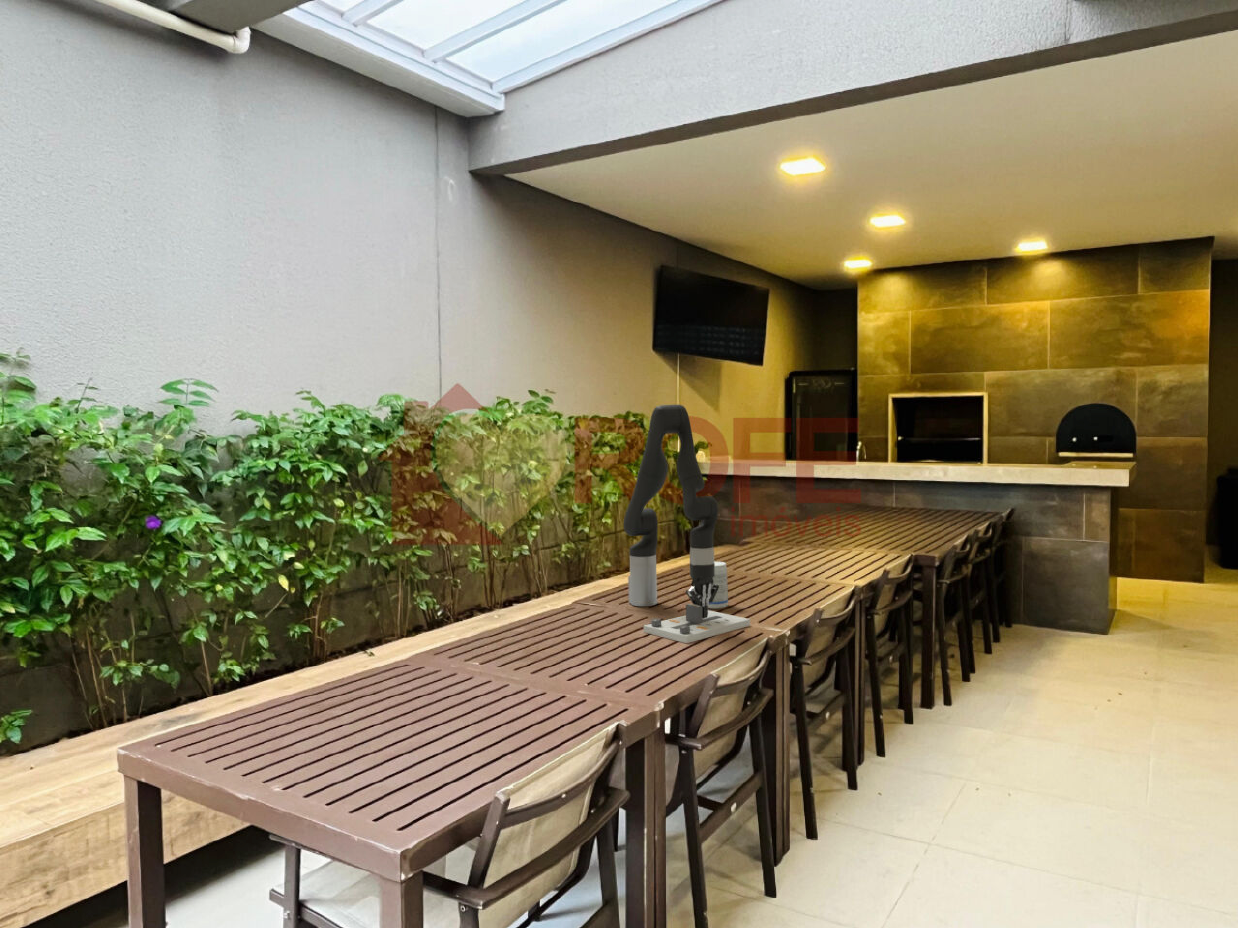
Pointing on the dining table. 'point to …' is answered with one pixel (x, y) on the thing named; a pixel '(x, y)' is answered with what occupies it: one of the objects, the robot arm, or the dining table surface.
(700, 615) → the fader tab
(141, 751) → the dining table surface
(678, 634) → the console board
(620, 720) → the dining table surface
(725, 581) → the supplement tub
